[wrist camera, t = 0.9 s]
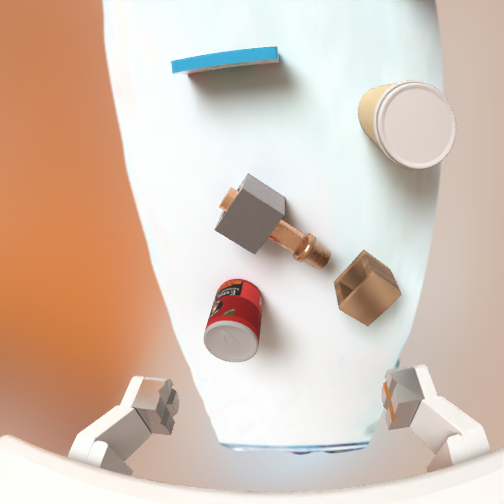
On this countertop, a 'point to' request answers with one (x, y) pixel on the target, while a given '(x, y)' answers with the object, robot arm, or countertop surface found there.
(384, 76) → the countertop surface
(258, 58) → the blue thin box
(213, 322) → the canned food
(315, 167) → the countertop surface
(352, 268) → the socket
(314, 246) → the tube
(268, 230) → the sleeve
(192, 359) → the countertop surface
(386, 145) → the coffee cup
